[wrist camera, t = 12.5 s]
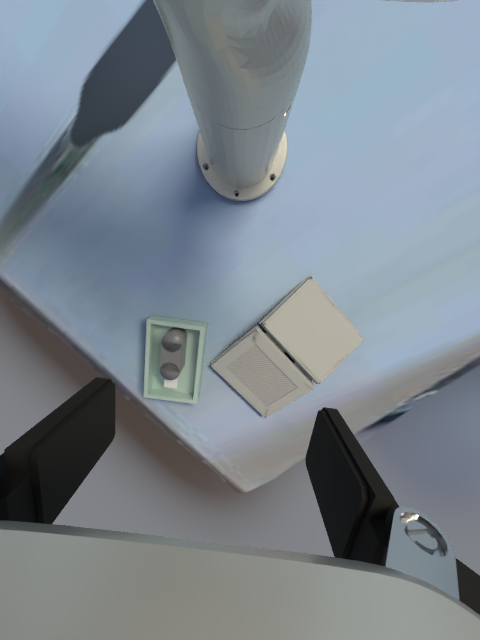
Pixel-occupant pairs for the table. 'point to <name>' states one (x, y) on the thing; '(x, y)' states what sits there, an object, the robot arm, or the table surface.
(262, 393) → the gadget
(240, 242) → the table surface
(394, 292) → the table surface
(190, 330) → the tray
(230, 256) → the table surface
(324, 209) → the table surface
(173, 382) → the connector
